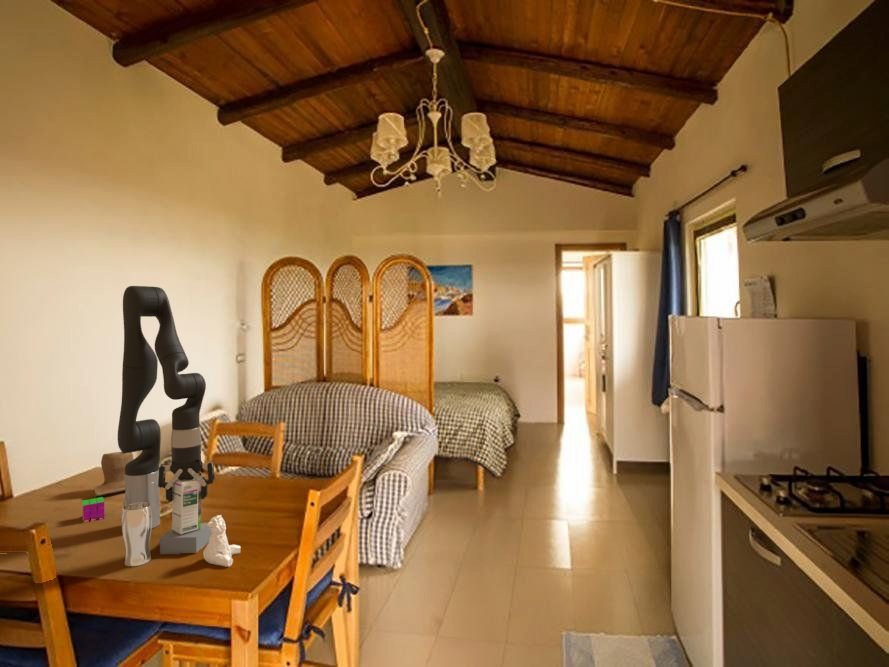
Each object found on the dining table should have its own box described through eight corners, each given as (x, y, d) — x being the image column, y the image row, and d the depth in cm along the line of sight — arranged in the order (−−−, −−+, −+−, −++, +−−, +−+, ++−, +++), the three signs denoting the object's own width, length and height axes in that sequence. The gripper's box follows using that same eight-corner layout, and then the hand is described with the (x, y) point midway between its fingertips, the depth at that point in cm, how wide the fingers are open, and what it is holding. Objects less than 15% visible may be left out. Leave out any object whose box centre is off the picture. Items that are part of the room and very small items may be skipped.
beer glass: (131, 555, 140) (129, 501, 139) (157, 554, 140) (156, 500, 140) (117, 568, 133) (115, 511, 132) (145, 566, 133) (143, 510, 133)
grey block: (160, 555, 141) (159, 537, 141) (178, 540, 151) (178, 523, 151) (196, 555, 141) (196, 537, 141) (212, 539, 151) (212, 522, 151)
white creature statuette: (230, 567, 133) (229, 522, 132) (196, 569, 132) (195, 523, 132) (242, 551, 142) (241, 508, 142) (210, 552, 141) (209, 510, 141)
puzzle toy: (103, 513, 171) (102, 496, 171) (104, 518, 167) (104, 501, 167) (82, 518, 168) (81, 500, 168) (83, 523, 163) (82, 505, 163)
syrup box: (180, 535, 142) (182, 482, 142) (171, 529, 145) (172, 478, 146) (201, 529, 146) (202, 478, 146) (191, 524, 150) (192, 474, 150)
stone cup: (131, 483, 203) (130, 446, 203) (142, 489, 195) (141, 450, 195) (86, 493, 192) (85, 453, 191) (96, 500, 184) (95, 459, 183)
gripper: (154, 448, 140) (155, 506, 140) (210, 444, 144) (211, 501, 144) (162, 442, 147) (163, 497, 148) (215, 438, 151) (216, 493, 151)
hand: (187, 499), depth 146 cm, fingers open, 8 cm apart
